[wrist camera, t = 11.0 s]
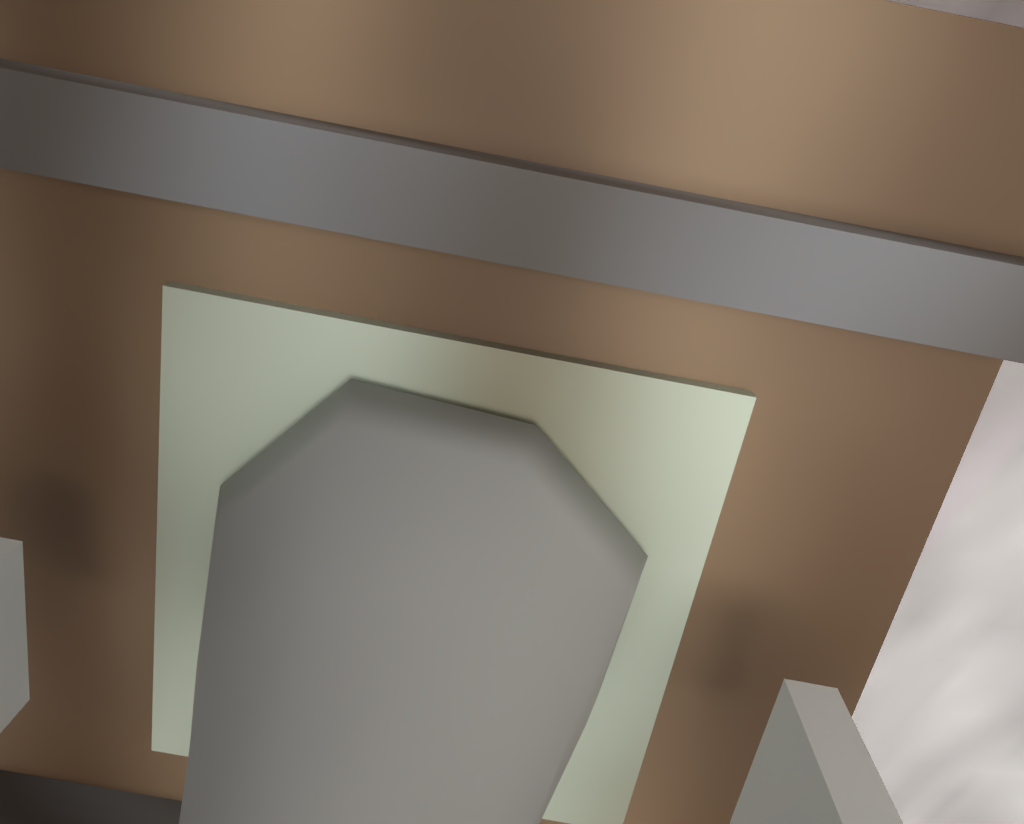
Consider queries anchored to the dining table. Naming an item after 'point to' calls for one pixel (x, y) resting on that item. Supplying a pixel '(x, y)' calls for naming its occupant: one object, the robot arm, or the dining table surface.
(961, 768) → the dining table surface
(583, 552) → the flask
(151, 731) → the dock
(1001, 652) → the dining table surface
